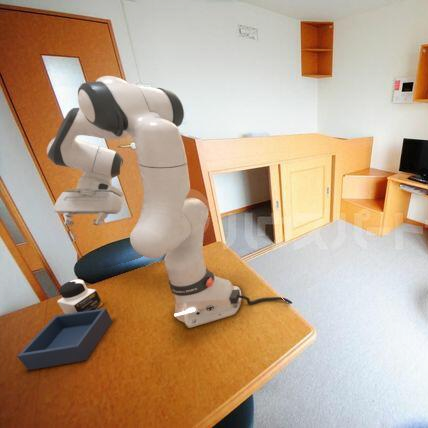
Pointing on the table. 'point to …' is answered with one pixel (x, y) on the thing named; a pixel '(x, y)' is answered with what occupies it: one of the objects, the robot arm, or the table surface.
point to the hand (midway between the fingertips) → (82, 225)
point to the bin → (66, 339)
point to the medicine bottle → (78, 297)
